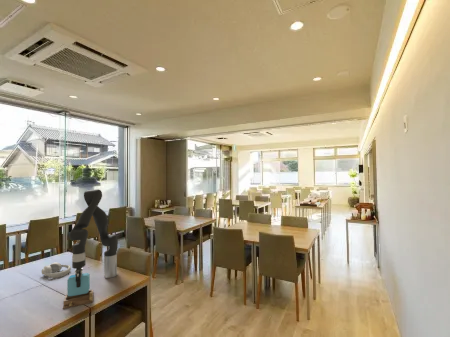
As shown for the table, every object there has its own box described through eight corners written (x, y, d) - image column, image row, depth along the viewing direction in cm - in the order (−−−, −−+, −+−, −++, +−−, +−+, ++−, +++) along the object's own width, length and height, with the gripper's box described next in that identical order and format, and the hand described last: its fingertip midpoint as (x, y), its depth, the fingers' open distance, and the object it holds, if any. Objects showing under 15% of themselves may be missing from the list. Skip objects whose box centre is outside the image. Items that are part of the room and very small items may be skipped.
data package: (89, 290, 161) (89, 272, 161) (88, 293, 157) (88, 275, 157) (68, 293, 156) (68, 275, 156) (67, 297, 152) (67, 278, 152)
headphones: (35, 277, 191) (56, 282, 187) (36, 267, 191) (57, 273, 187) (55, 268, 209) (75, 272, 205) (56, 259, 209) (76, 264, 205)
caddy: (66, 298, 159) (66, 289, 159) (93, 292, 166) (93, 284, 166) (62, 309, 147) (62, 299, 147) (92, 302, 154) (92, 293, 154)
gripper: (84, 262, 152) (84, 288, 152) (86, 255, 165) (86, 279, 165) (70, 264, 149) (70, 291, 148) (73, 257, 162) (73, 282, 161)
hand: (78, 285), depth 157 cm, fingers closed on data package, 4 cm apart
